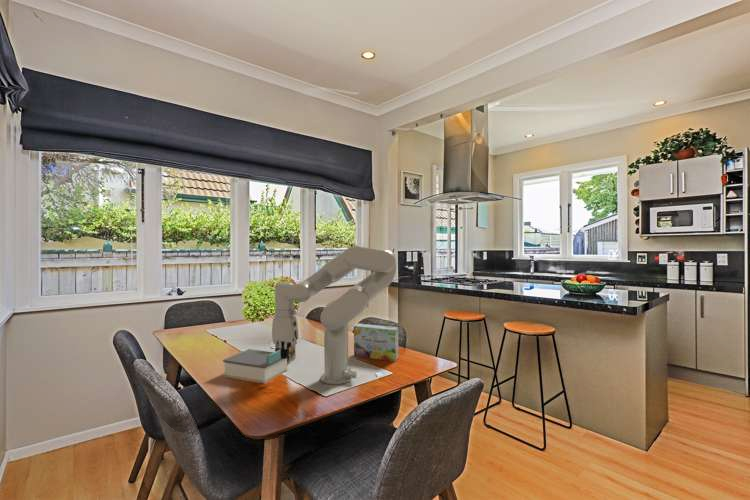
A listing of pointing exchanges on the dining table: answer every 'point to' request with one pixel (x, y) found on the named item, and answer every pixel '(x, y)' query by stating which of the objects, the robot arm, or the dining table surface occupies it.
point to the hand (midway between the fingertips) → (284, 357)
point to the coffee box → (291, 352)
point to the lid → (255, 358)
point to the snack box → (376, 342)
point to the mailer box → (255, 371)
